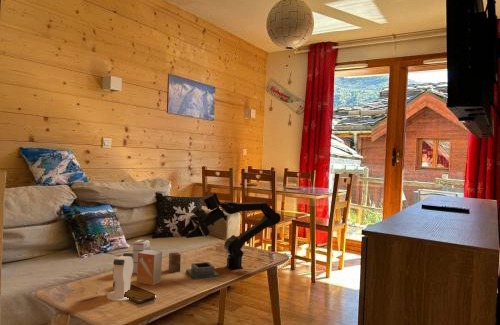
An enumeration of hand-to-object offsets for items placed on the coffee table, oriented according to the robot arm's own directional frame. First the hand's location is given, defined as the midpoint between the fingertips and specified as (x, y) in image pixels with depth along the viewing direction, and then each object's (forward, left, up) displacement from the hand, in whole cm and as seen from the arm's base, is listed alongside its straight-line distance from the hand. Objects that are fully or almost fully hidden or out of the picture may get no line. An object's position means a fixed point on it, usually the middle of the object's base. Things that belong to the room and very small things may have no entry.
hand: (183, 234), depth 171 cm
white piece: (+29, +19, -18) cm, 39 cm away
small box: (+17, +8, -18) cm, 26 cm away
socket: (-8, +5, -18) cm, 20 cm away
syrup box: (+18, -7, -18) cm, 26 cm away
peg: (+3, -4, -18) cm, 18 cm away
